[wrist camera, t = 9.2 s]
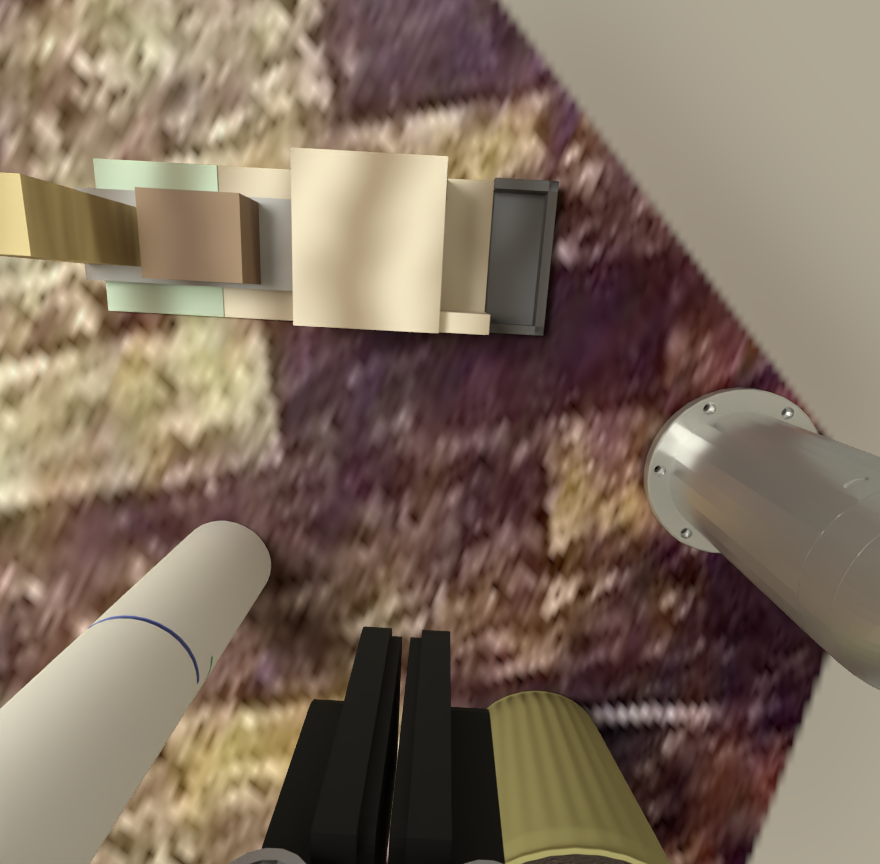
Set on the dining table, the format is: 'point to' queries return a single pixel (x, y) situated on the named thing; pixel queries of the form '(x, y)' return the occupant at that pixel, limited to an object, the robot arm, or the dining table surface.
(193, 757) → the dining table surface
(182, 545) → the cylindrical container
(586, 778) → the potted cactus
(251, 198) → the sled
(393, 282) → the tunnel
